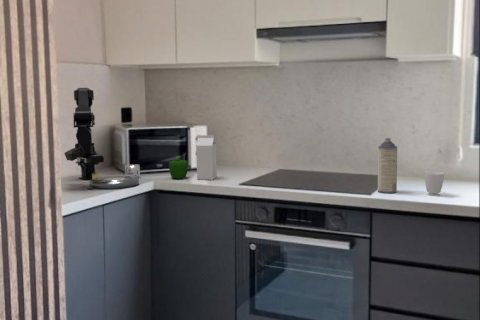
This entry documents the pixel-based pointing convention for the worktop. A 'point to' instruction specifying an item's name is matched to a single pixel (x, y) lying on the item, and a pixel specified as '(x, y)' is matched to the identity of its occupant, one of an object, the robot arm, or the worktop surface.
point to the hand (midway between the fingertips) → (86, 178)
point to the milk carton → (206, 157)
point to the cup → (434, 182)
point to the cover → (132, 170)
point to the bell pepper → (178, 168)
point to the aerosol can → (387, 167)
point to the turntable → (113, 181)
